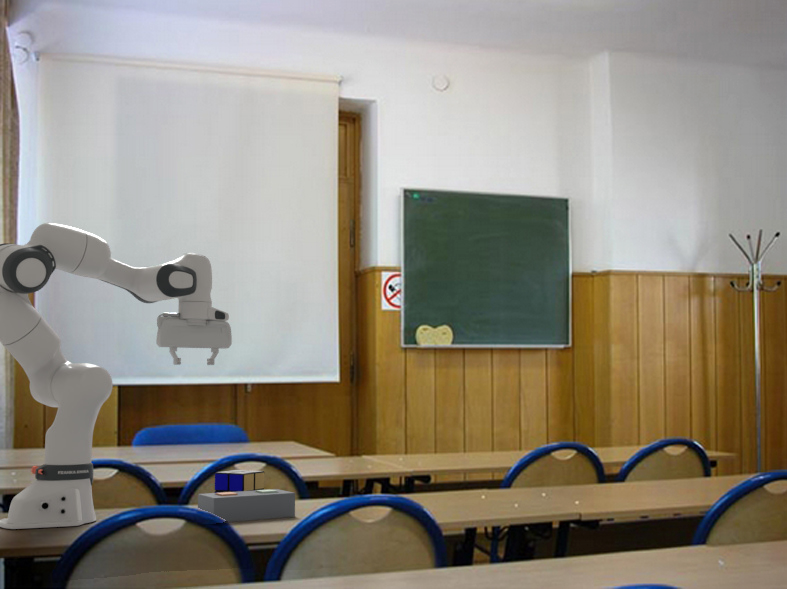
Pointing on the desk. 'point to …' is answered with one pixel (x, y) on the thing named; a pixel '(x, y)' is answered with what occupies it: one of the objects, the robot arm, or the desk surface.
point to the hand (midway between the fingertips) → (194, 364)
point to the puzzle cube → (239, 481)
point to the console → (249, 505)
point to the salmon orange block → (226, 494)
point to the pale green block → (266, 491)
